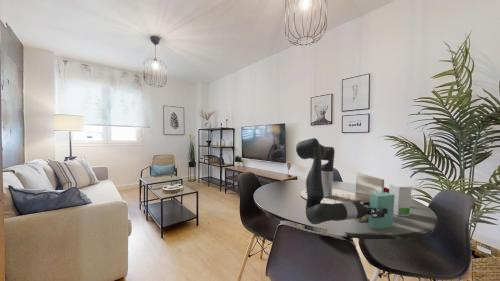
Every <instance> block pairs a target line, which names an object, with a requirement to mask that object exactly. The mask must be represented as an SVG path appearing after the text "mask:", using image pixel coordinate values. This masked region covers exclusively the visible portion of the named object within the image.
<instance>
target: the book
mask: <svg viewBox="0 0 500 281" xmlns="http://www.w3.org/2000/svg"><path fill="white" fill-rule="evenodd" d="M394 197H395V195H393V194H390V193H387V192H385V193H372V194H370V207H375V208H376V209H384V208H386V209H388V213H387V214H385V216H384V217H383V218H372V215H369V221H368V226H369V227H371V228H373V229H375V230H380V229H386V228H387V229H388V228H393V223H394V214H393V212H394ZM372 212H373V209H372Z"/></svg>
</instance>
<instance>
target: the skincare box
mask: <svg viewBox="0 0 500 281" xmlns="http://www.w3.org/2000/svg"><path fill="white" fill-rule="evenodd" d="M388 189H389V193H390V194H393V195H395V197H394V212H393V216H396V217H401V216H402V217H407V216H409V217H410V216H411V203H412V198H411V197H412V190H413V189H412V186H410V185H406V184H403V183H389V188H388Z"/></svg>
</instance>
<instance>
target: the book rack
mask: <svg viewBox="0 0 500 281" xmlns="http://www.w3.org/2000/svg"><path fill="white" fill-rule="evenodd" d="M384 187H385V179H383V178H378V177H375V176H371V175H368V174H364V173H360V172H356V179H355V196H354V198H355V199H354V201H357V200H359V201H360V202H370V194H372V193H384ZM348 202H350V201H349V200H348ZM354 221H355V222H357V223H359V222H369V215H365V216H364V217H363V218H361V219H354Z"/></svg>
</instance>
